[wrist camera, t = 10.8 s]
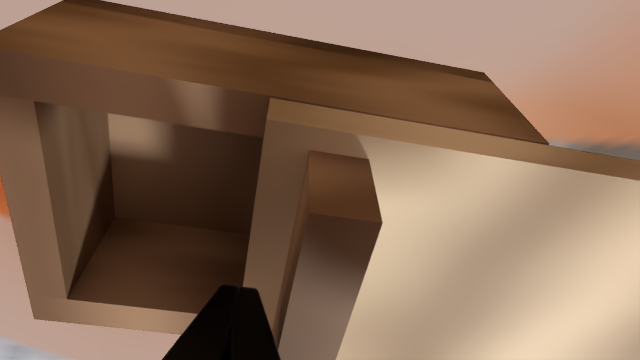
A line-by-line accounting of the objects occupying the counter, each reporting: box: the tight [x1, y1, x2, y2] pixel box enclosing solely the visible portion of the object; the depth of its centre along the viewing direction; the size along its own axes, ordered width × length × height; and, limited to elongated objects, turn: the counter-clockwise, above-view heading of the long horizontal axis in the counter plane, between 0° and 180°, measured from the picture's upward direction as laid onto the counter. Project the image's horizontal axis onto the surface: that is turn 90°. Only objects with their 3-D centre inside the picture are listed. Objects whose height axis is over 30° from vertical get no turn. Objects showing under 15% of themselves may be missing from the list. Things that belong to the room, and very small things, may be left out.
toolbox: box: [0, 0, 549, 335], centre depth 13 cm, size 12×8×4 cm, turn 79°
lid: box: [243, 98, 640, 360], centre depth 11 cm, size 12×8×3 cm, turn 79°
